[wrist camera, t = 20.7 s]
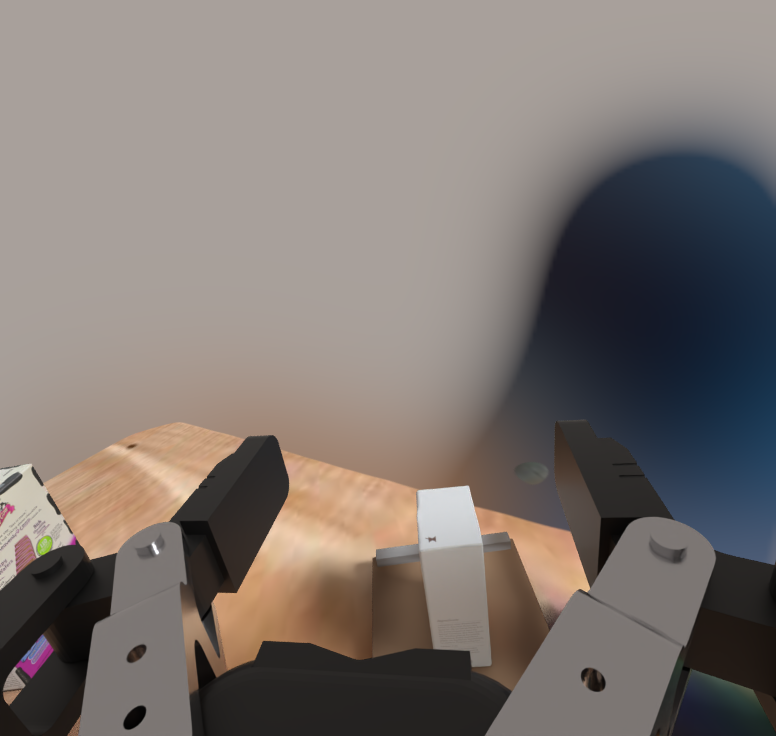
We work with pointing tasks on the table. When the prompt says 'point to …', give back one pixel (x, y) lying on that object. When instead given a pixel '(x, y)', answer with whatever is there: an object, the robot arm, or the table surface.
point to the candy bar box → (27, 546)
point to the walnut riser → (504, 600)
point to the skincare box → (454, 572)
